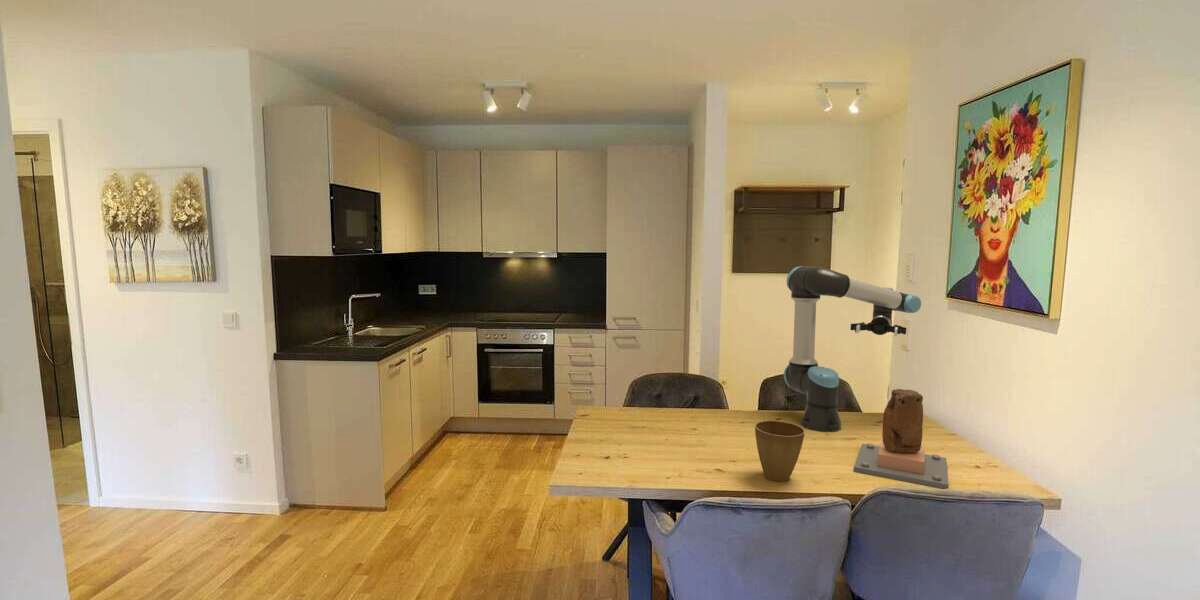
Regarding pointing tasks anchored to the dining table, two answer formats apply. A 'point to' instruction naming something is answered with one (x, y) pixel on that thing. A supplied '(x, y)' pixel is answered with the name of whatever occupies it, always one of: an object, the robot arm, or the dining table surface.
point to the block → (903, 422)
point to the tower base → (903, 474)
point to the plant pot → (778, 448)
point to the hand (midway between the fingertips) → (876, 331)
